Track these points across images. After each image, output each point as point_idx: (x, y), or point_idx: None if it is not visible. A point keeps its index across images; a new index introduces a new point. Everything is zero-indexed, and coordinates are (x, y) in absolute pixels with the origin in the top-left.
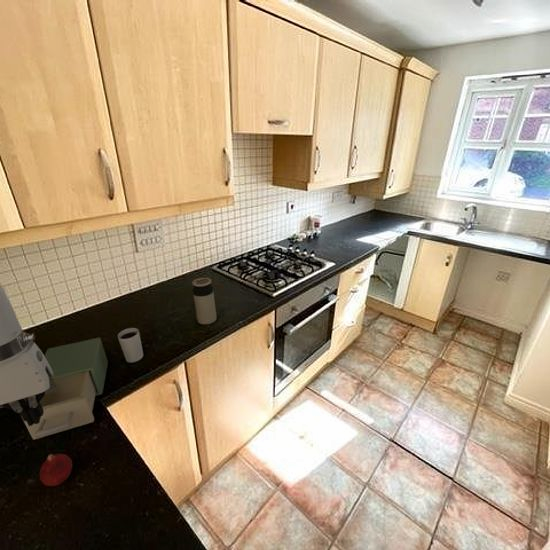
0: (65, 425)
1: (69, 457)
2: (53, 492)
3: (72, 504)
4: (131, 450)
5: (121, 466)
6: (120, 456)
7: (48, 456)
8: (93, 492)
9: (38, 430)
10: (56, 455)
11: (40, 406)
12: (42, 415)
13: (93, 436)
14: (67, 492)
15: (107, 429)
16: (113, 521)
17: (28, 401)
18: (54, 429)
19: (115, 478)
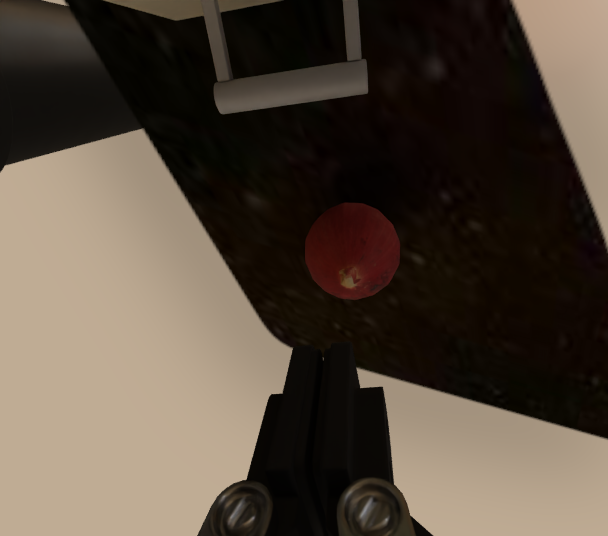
0: (350, 90)
1: (392, 232)
2: None
3: (402, 306)
4: (581, 183)
5: (539, 237)
6: (537, 197)
7: (345, 282)
8: (454, 292)
9: (219, 78)
10: (362, 259)
11: (388, 452)
12: (387, 418)
13: (426, 60)
14: None
15: (485, 33)
16: (511, 372)
17: (290, 479)
18: (301, 101)
19: (518, 271)
